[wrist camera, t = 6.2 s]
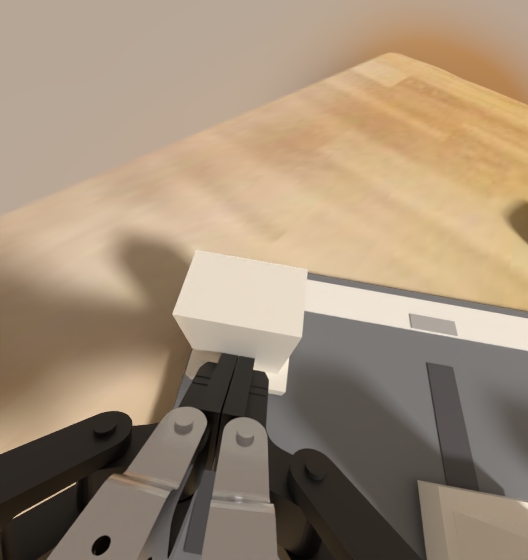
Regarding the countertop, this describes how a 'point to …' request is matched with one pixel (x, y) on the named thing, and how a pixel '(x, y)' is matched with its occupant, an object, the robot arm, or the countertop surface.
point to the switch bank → (399, 399)
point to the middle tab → (472, 524)
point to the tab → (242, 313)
